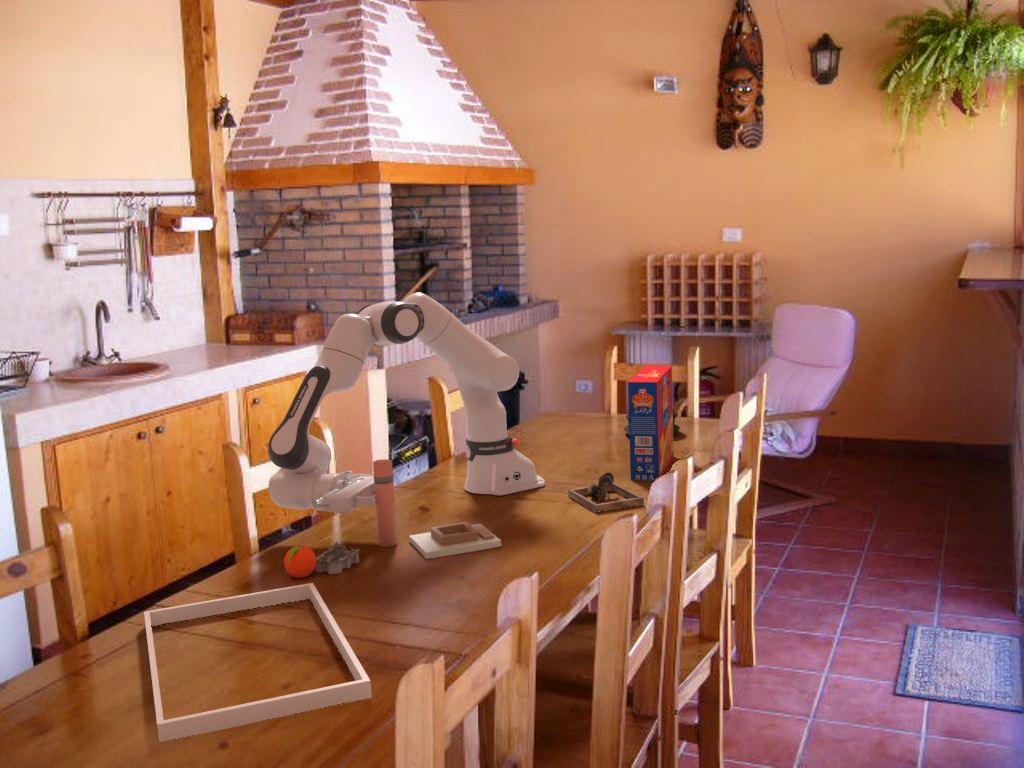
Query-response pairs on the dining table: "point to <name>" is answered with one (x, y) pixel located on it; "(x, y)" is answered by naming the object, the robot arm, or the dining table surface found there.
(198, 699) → the dining table surface
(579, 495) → the figurine display rim
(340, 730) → the dining table surface
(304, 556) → the clementine
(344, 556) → the grey castle model
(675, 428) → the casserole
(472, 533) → the cradle jig
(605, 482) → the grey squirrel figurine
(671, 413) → the blue cardboard box
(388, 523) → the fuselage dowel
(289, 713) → the frame
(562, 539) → the dining table surface
